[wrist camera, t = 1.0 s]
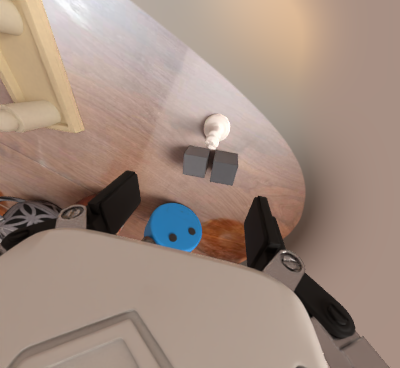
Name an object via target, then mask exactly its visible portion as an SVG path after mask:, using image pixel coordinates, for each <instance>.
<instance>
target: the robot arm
mask: <svg viewBox="0 0 400 368" xmlns="http://www.w3.org/2000/svg"><path fill="white" fill-rule="evenodd" d="M140 202H141V197H140V191H139V184H138V177H137V174H135V172H133V171H125V172H124V173H123V174H122V175H120V176H119V177H118V178H117V179H115V180H114V181H113V182H112V183H111V184H109V185H108V186H107V187H106V188H105V189H103V190H102V191H101V192H100V193H98V194H97V195H96V196H95V197H94V198H92V199H91V200H90V201H89V202H88V203H87V204H88V205H87V206H84V205H80V204H77V205H72V206H69V207H67V208H65V209H63V210H62V211H61V212H60V213H59V214H58V217H57V218H54V219H51V220H47V221H44V222H40V223H37V224H33V225H29V226H26V227H22V228H20V229H17V230H15V231H13V232H11V233H10V234H8V235H7V236H6V237H5V238H4V239H3V240H2V242H1V243H0V368H328V367H327V364H326V361H327V363H328V364H329V366H330V368H389V366H388V365H387V364H386V363H385V362H384V360H383V359H382V358H381V357H380V356H379V354H378V353H377V352H376V351H375V350H374V348H373V347H372V346H371V345H370V344H369V343H368V341H367V340H366V339H365V338H364V337H363V336H362V337H360V336H359V334H358V333H357V332H356V331H355V325H354V322H353V320H352V318H351V316H350V315H349V313H348V312H347V310H346V309H345V308H344V307H343V306H341V304H340V303H339V302H337V301H336V300H335V299H334V298H333V297H332V296H331V295H330V294H328V293H327V292H326V291H325V290H324V289H323V288H322V287H321V286H319V285H318V284H317V283H316V282H315V281H314V280H313V279H311V278H310V277H309V276H308V275H307V274H306V273H305V265H304V263H303V261H302V260H301V259H300V257H298V256H297V255H296V254H295V253H293V252H292V251H289V250H286V249H285V246H284V242H283V239H282V236H281V233H280V230H279V227H278V224H277V221H276V218H275V217H273V216H272V214H271V211H270V207H269V204H268V201H267V198H266V197H262V196H258V197H255V198H254V200H253V203H252V205H251V207H250V210H249V212H248V215H247V217H246V219H245V222H244V230H245V242H246V254H247V266H248V267H246V266H243V265H239V264H235V263H232V262H228V261H224V260H220V259H216V258H212V257H207V256H203V255H199V254H195V253H191V252H186V251H182V250H178V249H174V248H169V247H165V246H161V245H157V244H152V243H148V242H144V241H139V240H135V239H131V238H126V237H122V236H117V235H116V234H117V232H118V231H119V230H120V229H121V227H122V226H123V225H124V223H125V222H126V221H127V219H128V218H129V217H130V216H131V214H132V213H133V212H134V210H135V209H136V208H137V206H138V205H139V204H140ZM322 351H323V352H322ZM323 353H324V354H323ZM325 360H326V361H325Z"/></svg>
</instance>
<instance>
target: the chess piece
mask: <svg viewBox="0 0 400 368" xmlns="http://www.w3.org/2000/svg"><path fill="white" fill-rule="evenodd" d="M229 132H230V123H229V121H228V119H227V118H226V117H225V116H223V115H221V114H213V115H211V116H209V117H208V118H207V120H206V121H205V123H204V133H205V135H206V137H207V138H206V140H205V144H206V146H207V147H208V148H209V149H214V150H216V148H217V146H218V145H219V141H222V140H224V139H225V138H226V137H227V136H228V134H229Z"/></svg>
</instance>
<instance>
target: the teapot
mask: <svg viewBox="0 0 400 368" xmlns="http://www.w3.org/2000/svg"><path fill="white" fill-rule="evenodd" d="M0 201H16V202H19V203H17V204H15V205H13V206H12V207H11V208H10V209H9V210H8V211H7V212H6V213H5V214H4V215H3V216H1V215H0V239H2V240H3V239H4V238H5V237H6V236H7V235H8V234H10V233H11V232H13V231H15V230H17V229H20V228H22V227H26V226H29V225H33V224H37V223H40V222H44V221H47V220H51V219H54V218H57V217H58V214H59V213H60V212H61V211H62V210H61V209H60V208H58V207H57V206H55V205H53V204H51V203H48V202H45V201H33V200H28V201H26V200H23V199H20V198H15V197H6V196H2V197H0Z"/></svg>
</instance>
